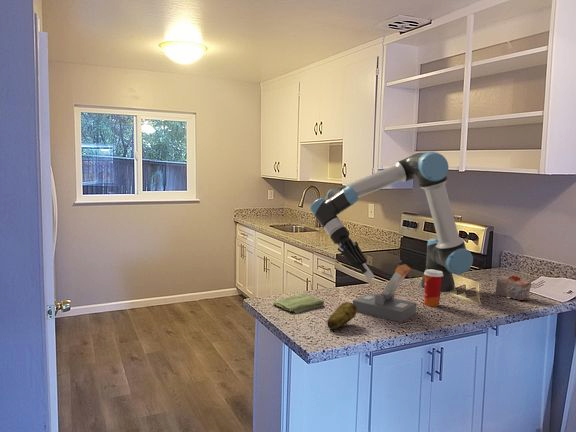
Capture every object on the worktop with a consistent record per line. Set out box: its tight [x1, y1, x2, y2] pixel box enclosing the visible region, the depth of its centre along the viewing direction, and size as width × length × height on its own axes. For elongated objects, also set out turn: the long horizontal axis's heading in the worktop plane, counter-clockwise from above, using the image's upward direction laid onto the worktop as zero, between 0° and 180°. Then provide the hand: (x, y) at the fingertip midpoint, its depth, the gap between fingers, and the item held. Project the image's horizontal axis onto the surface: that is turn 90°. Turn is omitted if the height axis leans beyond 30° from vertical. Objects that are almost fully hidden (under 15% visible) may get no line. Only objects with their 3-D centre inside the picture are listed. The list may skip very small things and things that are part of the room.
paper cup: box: [423, 269, 444, 308], centre depth 187 cm, size 8×8×14 cm
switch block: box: [352, 292, 418, 323], centre depth 177 cm, size 20×14×7 cm
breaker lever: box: [380, 263, 412, 302], centre depth 174 cm, size 3×6×16 cm, turn 143°
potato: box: [326, 301, 357, 330], centre depth 160 cm, size 8×13×8 cm, turn 118°
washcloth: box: [272, 292, 325, 314], centre depth 181 cm, size 13×18×3 cm
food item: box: [495, 275, 532, 301], centre depth 201 cm, size 14×8×10 cm, turn 38°
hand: (371, 278), depth 179 cm, fingers closed
